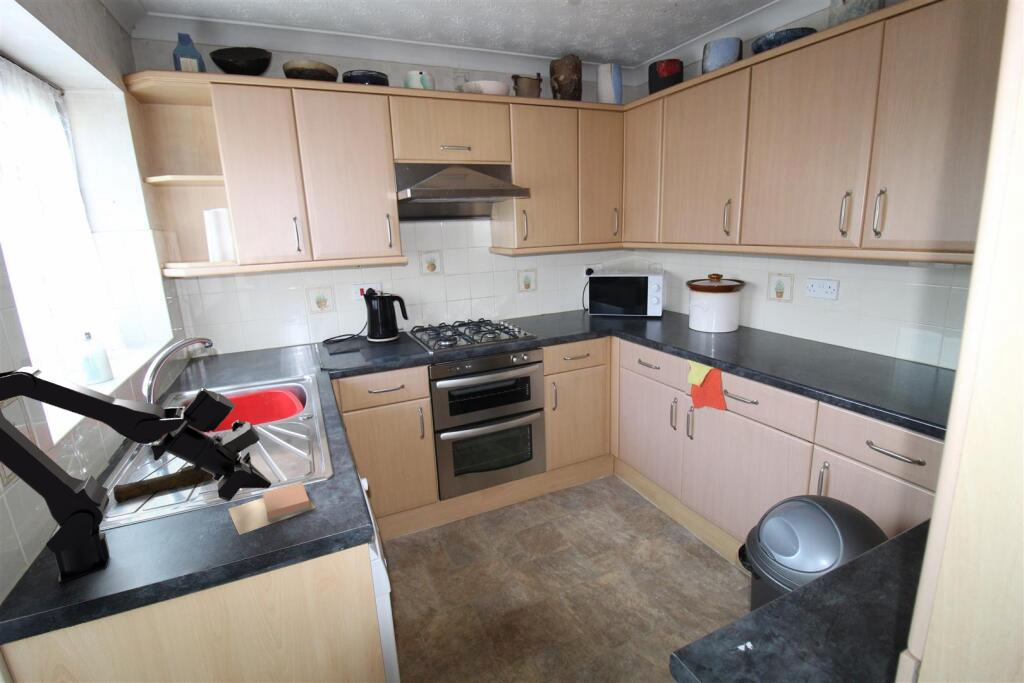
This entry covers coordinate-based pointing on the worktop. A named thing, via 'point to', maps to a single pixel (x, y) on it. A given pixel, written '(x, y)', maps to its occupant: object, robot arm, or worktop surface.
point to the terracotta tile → (286, 501)
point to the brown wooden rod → (161, 483)
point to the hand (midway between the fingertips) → (269, 485)
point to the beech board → (255, 515)
